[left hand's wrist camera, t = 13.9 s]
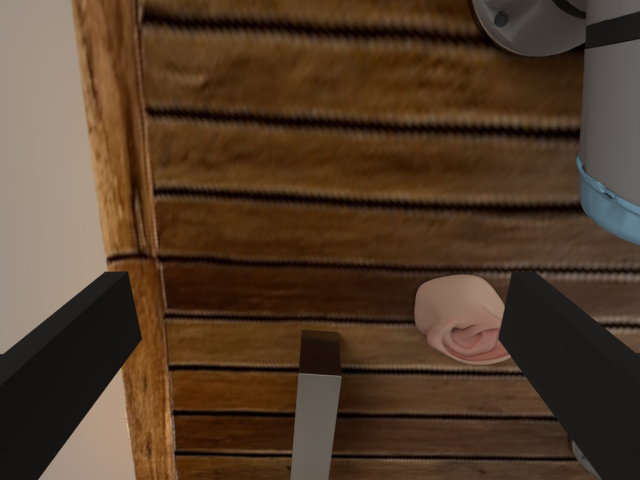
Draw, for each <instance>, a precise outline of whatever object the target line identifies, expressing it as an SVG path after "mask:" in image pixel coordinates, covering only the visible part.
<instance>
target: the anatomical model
mask: <svg viewBox="0 0 640 480" xmlns="http://www.w3.org/2000/svg"><path fill="white" fill-rule="evenodd" d="M504 308H505V306H504V304H503V302H502V301H501V299H500V297H499V296H498V294H497V293H496V292H495V290H494V289H493V288H492V287H491V286H490V285H489V284H488V283H487V282H486V281H485V280H484V279H482V278H480V277H478V276H474V275H451V276H445V277H440V278H436V279H433V280H429V281H427V282H425V283H423V284H422V285H421V286H420V287H419V289H418V291H417V295H416V300H415V311H414V313H415V323H416V326H417V328H418V330H419V331H420V332H421V333H423V334H424V335H426V336H427V342H428V344H429V345H430V346H431V347H433V348H435V349H436V350H438V351H440V352H442V353H444V354H445V355H447V356H449V357H451V358H452V359H454V360H457V361H459V362H462V363H466V364H473V365H485V364H493V363H497V362H501V361H504V360H506V359H508V358H510V357H511V356H510V355H509V353H508V352H507V351H506V349H505V348H504V347H503V345H502V344H501V342H500V341H499V340H498V336H499V331H500V327H501V322H502V317H503V313H504Z"/></svg>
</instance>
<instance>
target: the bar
mask: <svg viewBox="0 0 640 480" xmlns="http://www.w3.org/2000/svg"><path fill="white" fill-rule="evenodd" d="M341 378H342V374H341V361H340V349H339V336H338V332H323V331H309V330H302V336H301V349H300V362H299V375H298V388H297V401H296V415H295V428H294V441H293V454H292V467H291V480H328V478H329V470H330V462H331V455H332V447H333V439H334V432H335V424H336V416H337V409H338V401H339V393H340V386H341Z"/></svg>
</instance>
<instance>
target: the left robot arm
mask: <svg viewBox="0 0 640 480" xmlns="http://www.w3.org/2000/svg"><path fill="white" fill-rule="evenodd" d="M468 3H469V7H470V10H471V13H472V16H473V19H474V21H475V23H476V25H477V27H478V28H479V30H480V31H481V33H482V34H483V35H484V36H485V37H486V39H487V40H488V41H490V42H491V43H492V44H493V45H494V46H496V47H497V48H499V49H500V50H502V51H504V52H506V53H508V54H511V55H515V56H519V57H526V58H536V57H544V56H550V55H555V54H558V53H562V52H565V51H567V50H570V49H572V48H574V47H576V46H579V45H581V44H583V43H584V42H585V48H586V49H585V52H584V75H583V94H582V111H581V128H580V145H579V153H578V155H577V157H576V165H577V168H578V171H579V172H580V202H581V205H582V208H583V209H584V211H585V213H586V214H587V215H588V216H589V217H590V218H592V219H593V220H594V222H595V223H596V224H597V225H598V226H599V227H601V228H603V229H604V230H606V231H607V232H609V233H611V234H613V235H615V236H617V237H619V238H621V239H624V240H626V241H629V242H631V243H634V244H637V245H640V0H468ZM141 340H142V336H141V331H140V327H139V322H138V317H137V313H136V308H135V303H134V299H133V294H132V289H131V285H130V280H129V275H128V272H104V273H103V274H102V275H101V276H99V277H98V278H97V279H96V280H94V281H93V282H92V283H91V284H90V285H88V286H87V287H86V288H84V289H83V290H82V291H81V292H80V293H78V294H77V295H76V296H75V297H73V298H72V299H71V300H70V301H68V302H67V303H66V304H65V305H63V306H62V307H61V308H60V309H59V310H57V311H56V312H55V313H54V314H52V315H51V316H50V317H49V318H47V319H46V320H45V321H44V322H42V323H41V324H40V325H39V326H37V327H36V328H35V329H34V330H32V331H31V332H30V333H29V334H28V335H26V336H25V337H24V338H23V339H21V340H20V341H19V342H18V343H16V344H15V345H14V346H13V347H11V348H10V349H9V350H8V351H7V352H5V353H4V354H0V480H38V479H39V478H40V476H41V475H42V474H43V472H44V471H45V470H46V468H47V467H48V466H49V464H50V463H51V461H52V460H53V459H54V457H55V456H56V455H57V453H58V452H59V451H60V449H61V448H62V447H63V445H64V444H65V443H66V441H67V440H68V439H69V437H70V436H71V434H72V433H73V432H74V430H75V429H76V428H77V426H78V425H79V424H80V422H81V421H82V420H83V418H84V417H85V416H86V414H87V413H88V411H89V410H90V409H91V407H92V406H93V405H94V403H95V402H96V401H97V399H98V398H99V397H100V395H101V394H102V393H103V391H104V390H105V388H106V387H107V386H108V384H109V383H110V382H111V380H112V379H113V378H114V376H115V375H116V374H117V372H118V371H119V370H120V368H121V367H122V365H123V364H124V363H125V361H126V360H127V359H128V357H129V356H130V355H131V353H132V352H133V351H134V349H135V348H136V347H137V345H138V344H139V342H140V341H141ZM498 340H499V341H500V342H501V344H502V345H503V347H504V348H505V349H506V351H507V352H508V353H509V355H510V356H511V357H512V359H513V360H514V361H515V363H516V364H517V365H518V367H519V368H520V370H521V371H522V372H523V374H524V375H525V376H526V378H527V379H528V380H529V382H530V383H531V384H532V386H533V387H534V388H535V390H536V391H537V393H538V394H539V395H540V397H541V398H542V399H543V401H544V402H545V403H546V405H547V406H548V407H549V409H550V410H551V411H552V413H553V414H554V416H555V417H556V418H557V420H558V421H559V422H560V424H561V425H562V426H563V428H564V429H565V430H566V432H567V433H568V434H569V436H570V437H571V439H572V440H573V441H574V443H575V444H576V445H577V447H578V448H579V449H580V451H581V452H582V453H583V455H584V456H585V457H586V459H587V460H588V461H589V463H590V464H591V466H592V467H593V468H594V470H595V471H596V472H597V474H598V475H599V476H600V478H601V479H602V480H640V353H635V352H634V351H632V350H631V349H630V348H629V347H627V346H626V345H625V344H624V343H622V342H621V341H620V340H619V339H617V338H616V337H615V336H614V335H612V334H611V333H610V332H609V331H608V330H606V329H605V328H604V327H603V326H601V325H600V324H599V323H598V322H596V321H595V320H594V319H593V318H591V317H590V316H589V315H588V314H586V313H585V312H584V311H583V310H582V309H580V308H579V307H578V306H577V305H575V304H574V303H573V302H572V301H570V300H569V299H568V298H567V297H565V296H564V295H563V294H562V293H560V292H559V291H558V290H557V289H556V288H554V287H553V286H552V285H551V284H549V283H548V282H547V281H546V280H544V279H543V278H542V277H541V276H539V275H538V274H537V273H536V272H512V275H511V280H510V285H509V289H508V294H507V299H506V303H505V308H504V313H503V317H502V322H501V327H500V331H499V336H498Z"/></svg>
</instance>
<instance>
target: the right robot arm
mask: <svg viewBox="0 0 640 480" xmlns="http://www.w3.org/2000/svg"><path fill="white" fill-rule="evenodd" d="M569 447H570V449H571V451H572V453H573V454H574V456H575V457H576V459H577V460H578V461H579V462H580V464H581V465H582V466H583V467H584V468H585V469H586V470H587V471H589V472H590V473H591V474H592V475H593V476H595V477H596V478H597V479H598V480H602V479H601V478H600V476H599V475H598V474H597V472H596V471H595V470H594V468H593V467H592V466H591V464H590V463H589V461H588V460H587V459H586V457H585V456H584V455H583V453H582V452H581V451H580V449H579V448H578V447H577V445H576V444H575V443H574V441H573V440H572V439H571V437H570V436H569Z"/></svg>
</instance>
